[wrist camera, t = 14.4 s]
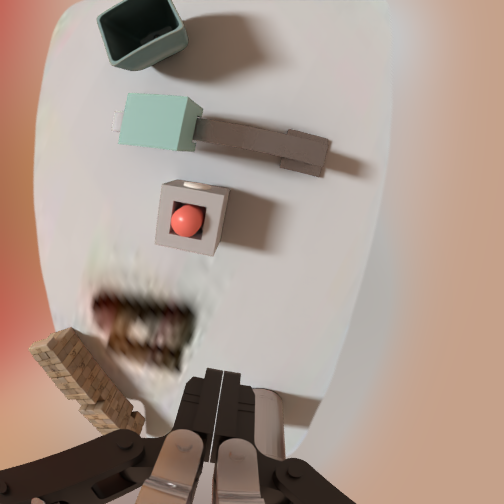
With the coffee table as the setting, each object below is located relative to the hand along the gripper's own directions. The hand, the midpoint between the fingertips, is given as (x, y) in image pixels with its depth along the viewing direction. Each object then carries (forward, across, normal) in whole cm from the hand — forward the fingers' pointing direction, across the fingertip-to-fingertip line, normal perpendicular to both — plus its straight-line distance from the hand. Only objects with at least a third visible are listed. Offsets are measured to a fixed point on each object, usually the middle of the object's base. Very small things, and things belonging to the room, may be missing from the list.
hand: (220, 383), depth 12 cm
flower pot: (+27, +16, -24) cm, 39 cm away
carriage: (+22, +10, -12) cm, 27 cm away
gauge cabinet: (+27, +7, -2) cm, 28 cm away
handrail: (+27, +5, -12) cm, 30 cm away
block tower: (+28, +25, +36) cm, 52 cm away
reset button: (+24, +7, -2) cm, 25 cm away
